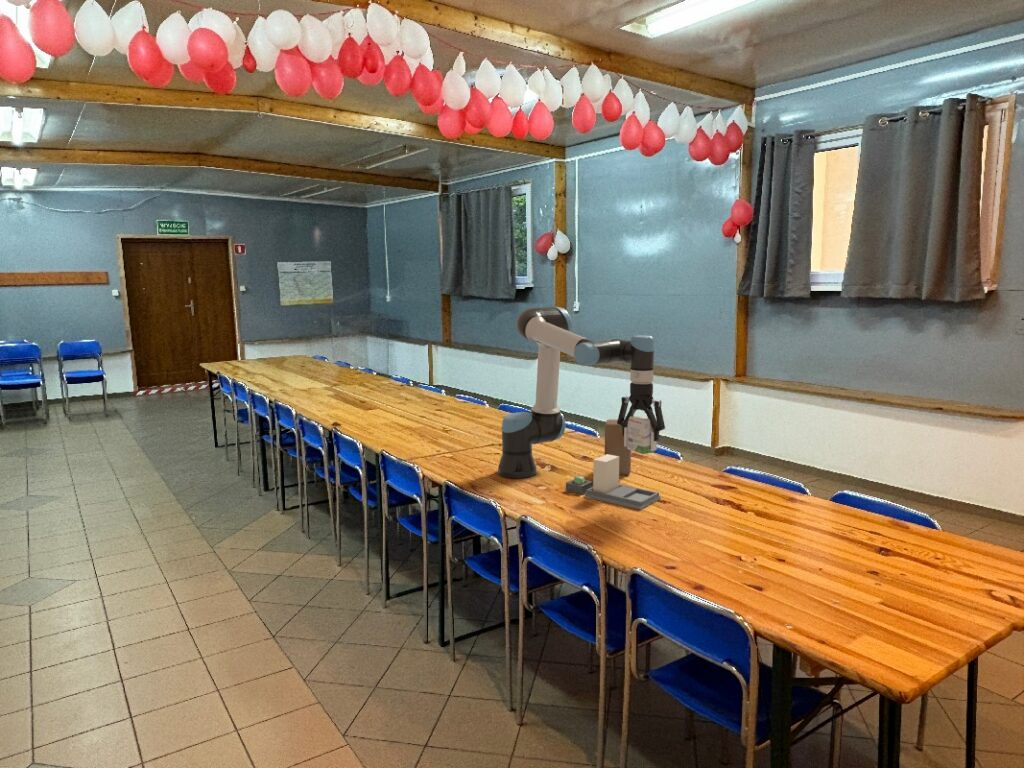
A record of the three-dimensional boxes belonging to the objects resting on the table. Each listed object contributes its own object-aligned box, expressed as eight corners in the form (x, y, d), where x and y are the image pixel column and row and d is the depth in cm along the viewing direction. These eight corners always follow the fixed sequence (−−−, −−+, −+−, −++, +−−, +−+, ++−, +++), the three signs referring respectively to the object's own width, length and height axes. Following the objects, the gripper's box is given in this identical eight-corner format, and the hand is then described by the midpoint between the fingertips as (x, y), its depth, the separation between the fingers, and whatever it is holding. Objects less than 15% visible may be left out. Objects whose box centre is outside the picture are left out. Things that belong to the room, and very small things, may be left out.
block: (630, 475, 260) (631, 425, 257) (604, 474, 262) (604, 424, 259) (630, 468, 270) (631, 419, 267) (605, 467, 272) (606, 418, 269)
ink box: (654, 452, 225) (655, 418, 223) (643, 454, 223) (643, 419, 221) (637, 447, 232) (638, 413, 231) (626, 449, 230) (626, 415, 228)
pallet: (584, 496, 236) (584, 490, 236) (605, 486, 247) (605, 480, 246) (640, 509, 222) (641, 502, 222) (660, 498, 233) (660, 492, 233)
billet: (593, 492, 236) (593, 459, 234) (606, 486, 243) (607, 454, 241) (605, 495, 233) (606, 462, 231) (618, 489, 240) (619, 456, 238)
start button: (572, 488, 243) (572, 477, 242) (577, 485, 246) (577, 475, 245) (580, 490, 241) (580, 479, 240) (586, 487, 243) (586, 477, 243)
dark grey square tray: (565, 490, 243) (565, 482, 242) (576, 485, 248) (576, 478, 248) (582, 494, 238) (582, 486, 238) (592, 489, 244) (592, 481, 243)
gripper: (607, 380, 228) (606, 445, 231) (666, 386, 214) (665, 455, 218) (618, 377, 234) (617, 440, 237) (677, 383, 220) (675, 450, 223)
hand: (640, 447), depth 227 cm, fingers closed on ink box, 9 cm apart
